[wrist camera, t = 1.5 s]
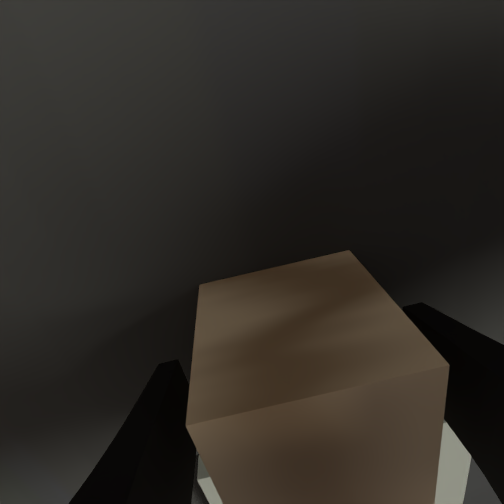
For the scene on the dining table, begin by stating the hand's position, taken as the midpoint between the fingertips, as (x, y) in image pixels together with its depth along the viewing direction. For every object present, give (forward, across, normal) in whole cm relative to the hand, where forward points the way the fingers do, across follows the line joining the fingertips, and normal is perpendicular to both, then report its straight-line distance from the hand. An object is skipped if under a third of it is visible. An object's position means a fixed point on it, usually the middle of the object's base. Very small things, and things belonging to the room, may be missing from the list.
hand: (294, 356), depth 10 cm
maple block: (+2, 0, 0) cm, 2 cm away
